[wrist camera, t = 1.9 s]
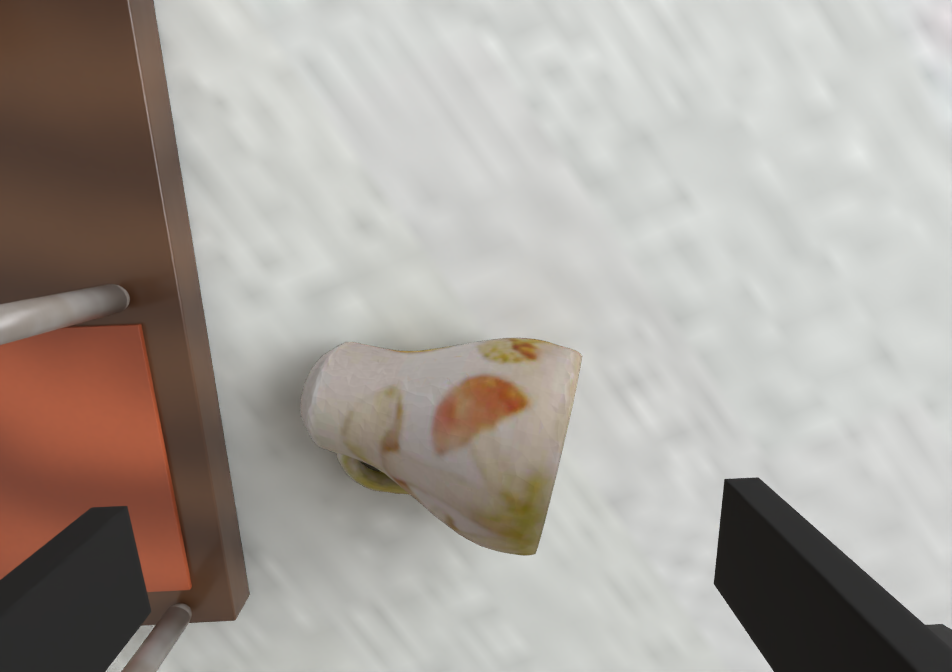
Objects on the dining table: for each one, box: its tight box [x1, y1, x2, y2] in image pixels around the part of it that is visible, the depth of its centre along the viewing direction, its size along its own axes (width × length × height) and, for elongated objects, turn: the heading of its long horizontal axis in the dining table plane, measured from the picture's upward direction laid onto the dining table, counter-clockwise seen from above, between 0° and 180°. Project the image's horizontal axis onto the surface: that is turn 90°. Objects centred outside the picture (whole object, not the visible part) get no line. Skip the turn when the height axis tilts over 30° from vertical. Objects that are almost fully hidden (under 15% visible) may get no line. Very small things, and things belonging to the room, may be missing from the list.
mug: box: [300, 338, 582, 555], centre depth 17 cm, size 8×10×10 cm
